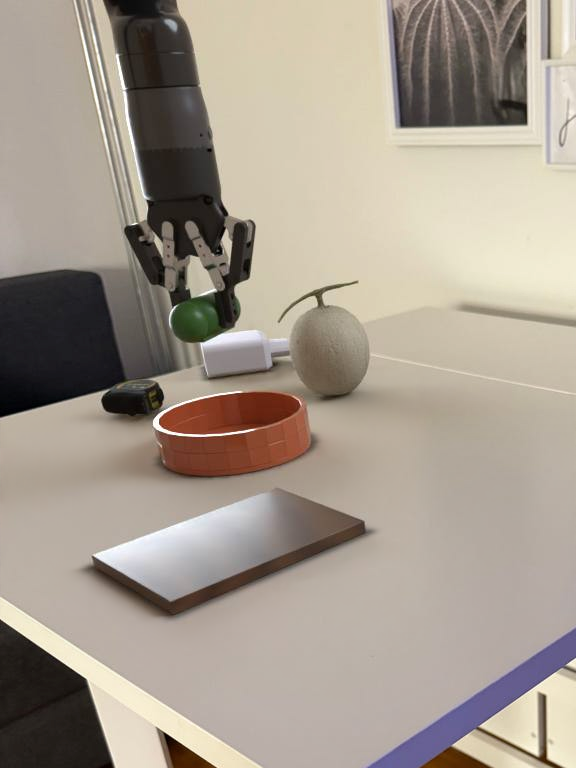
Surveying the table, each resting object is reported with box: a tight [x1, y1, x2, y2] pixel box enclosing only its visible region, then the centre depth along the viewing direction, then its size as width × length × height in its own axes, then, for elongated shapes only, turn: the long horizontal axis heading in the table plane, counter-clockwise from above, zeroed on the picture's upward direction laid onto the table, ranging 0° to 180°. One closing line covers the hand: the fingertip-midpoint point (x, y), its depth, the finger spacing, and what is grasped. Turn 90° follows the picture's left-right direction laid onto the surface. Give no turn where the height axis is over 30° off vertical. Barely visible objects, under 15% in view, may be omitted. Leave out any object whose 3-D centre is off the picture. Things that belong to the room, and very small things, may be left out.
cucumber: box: [168, 288, 242, 344], centre depth 97 cm, size 11×4×4 cm, turn 166°
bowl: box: [152, 390, 312, 477], centre depth 108 cm, size 17×17×4 cm
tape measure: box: [100, 378, 165, 418], centre depth 124 cm, size 7×7×4 cm
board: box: [91, 487, 367, 615], centre depth 84 cm, size 20×14×1 cm
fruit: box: [277, 279, 371, 397], centre depth 123 cm, size 10×12×15 cm
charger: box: [199, 329, 290, 379], centre depth 142 cm, size 5×9×15 cm
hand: (208, 326), depth 98 cm, fingers closed on cucumber, 4 cm apart
